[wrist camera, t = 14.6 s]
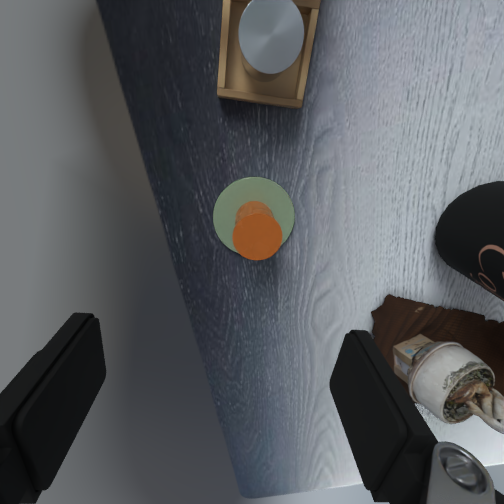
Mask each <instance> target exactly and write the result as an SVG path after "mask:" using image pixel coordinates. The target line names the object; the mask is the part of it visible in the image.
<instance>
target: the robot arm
mask: <svg viewBox="0 0 504 504" xmlns="http://www.w3.org/2000/svg"><path fill="white" fill-rule="evenodd" d="M105 377H106V366H105V359H104V352H103V345H102V338H101V330H100V323H99V319H98V318H95V317H94V315H93V314H91V313H73V314H72V315H71V316H70V318H69V319H68V320H67V321H66V322H65V323H64V325H63V326H62V327H61V328H60V329H59V330H58V332H57V333H56V334H55V335H54V336H53V337H52V339H51V340H50V341H49V342H48V343H47V345H46V346H45V347H44V348H43V349H42V350H40V351H38V352H37V353H36V354H35V355H34V356H33V357H32V358H31V359H30V360H29V362H27V364H26V365H25V366H24V367H23V368H22V369H21V371H20V372H19V373H18V374H17V375H16V376H15V377H14V379H13V380H12V381H11V382H10V383H9V384H8V385H7V387H6V388H5V389H4V390H3V391H2V392H1V393H0V504H35V503H36V502H37V500H38V498H39V496H40V494H41V492H42V490H47V489H48V488H49V487H50V485H51V484H52V482H53V480H54V478H55V476H56V474H57V472H58V470H59V468H60V466H61V464H62V462H63V460H64V459H65V457H66V455H67V452H68V451H69V449H70V447H71V445H72V443H73V441H74V439H75V437H76V435H77V433H78V431H79V429H80V427H81V425H82V423H83V421H84V419H85V417H86V416H87V414H88V412H89V410H90V408H91V406H92V404H93V402H94V400H95V398H96V396H97V394H98V392H99V390H100V388H101V386H102V384H103V382H104V380H105ZM330 391H331V394H332V396H333V399H334V402H335V405H336V408H337V411H338V413H339V416H340V419H341V422H342V425H343V427H344V430H345V433H346V436H347V439H348V442H349V444H350V447H351V450H352V453H353V456H354V459H355V461H356V464H357V467H358V470H359V473H360V475H361V478H362V481H363V484H364V486H365V487H366V489H367V490H370V491H371V494H372V497H373V500H374V502H389V503H390V504H504V495H503V494H501V493H500V492H498V491H497V490H495V489H494V485H493V481H492V479H491V477H490V475H489V473H488V471H487V470H486V469H485V467H484V466H483V465H482V464H481V462H480V461H479V460H478V459H477V458H475V457H474V456H473V455H472V454H471V453H470V452H468V451H467V450H465V449H464V448H462V447H460V446H458V445H456V444H454V443H450V442H438V441H437V439H436V438H435V436H434V434H433V433H432V431H431V430H430V428H429V427H428V425H427V423H426V422H425V420H424V419H423V417H422V416H421V414H420V412H419V411H418V409H417V408H416V406H415V405H414V403H413V401H412V400H411V398H410V397H409V395H408V394H407V392H406V390H405V389H404V387H403V386H402V384H401V383H400V381H399V379H398V378H397V376H396V375H395V373H394V372H393V370H392V368H391V367H390V365H389V364H388V362H387V361H386V359H385V357H384V356H383V354H382V353H381V351H380V350H379V348H378V346H377V345H376V343H375V342H374V340H373V339H372V337H371V335H370V334H369V333H368V331H365V330H351V331H350V333H347V334H346V335H345V338H344V341H343V343H342V346H341V349H340V352H339V355H338V358H337V361H336V364H335V367H334V370H333V373H332V376H331V379H330Z"/></svg>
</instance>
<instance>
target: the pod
mask: <svg viewBox="0 0 504 504" xmlns="http://www.w3.org/2000/svg"><path fill="white" fill-rule="evenodd" d="M232 239H233V244H234V247H235V249H236V250H237V251H238V253H239V254H240V255H242V256H243V257H245V258H247V259H250V260H263V259H267V258H269V257H271V256H272V255H273V254H275V253H276V252H277V250H278V249H279V247H280V245H281V243H282V230H281V227H280V225H279V223H278V222H277V221H276V220H275V218H274V216H273V213H272V211H271V209H270V208H269V207H268V206H267V205H266V204H264V203H262V202H259V201H250V202H247V203H245V204H243V205H242V206H241V207H240V208H239V209H238V211H237V213H236V217H235V227H234V230H233V236H232Z"/></svg>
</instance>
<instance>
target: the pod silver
mask: <svg viewBox="0 0 504 504" xmlns="http://www.w3.org/2000/svg"><path fill="white" fill-rule="evenodd" d="M238 38H239V45H240V49H241V61H242V64H243V67H244V69H245V71H246V72H247V74H248V75H249V76H250V77H251V78H253V79H254V80H256V81H259V82H270V81H273V80H274V79H276V78H277V77H279V76H280V75H281V74H282V72H283V71H284V70H286V69H287V68H289V67H290V66H291V65H292V64H293V63H294V61H295V60H296V59H297V57H298V55H299V53H300V51H301V48H302V45H303V40H304V24H303V20H302V16H301V14H300V12H299V10H298V8H297V6H296V5H295V4H294V2H293V1H292V0H252V1H251V2H250V3H249V4H248V5H247V7H246V8H245V10H244V12H243V14H242V16H241V19H240V23H239V31H238Z"/></svg>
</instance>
